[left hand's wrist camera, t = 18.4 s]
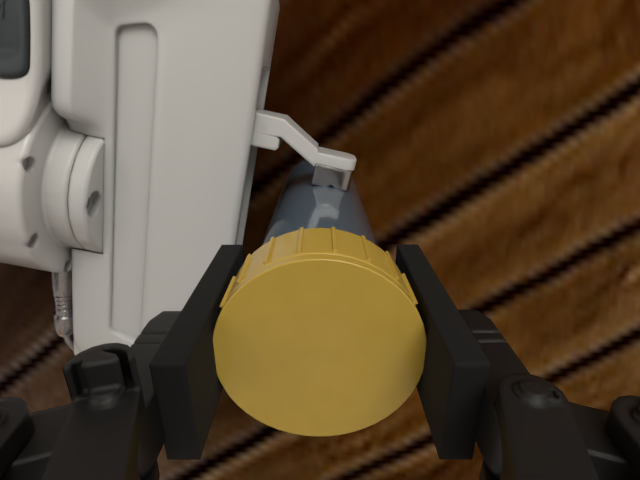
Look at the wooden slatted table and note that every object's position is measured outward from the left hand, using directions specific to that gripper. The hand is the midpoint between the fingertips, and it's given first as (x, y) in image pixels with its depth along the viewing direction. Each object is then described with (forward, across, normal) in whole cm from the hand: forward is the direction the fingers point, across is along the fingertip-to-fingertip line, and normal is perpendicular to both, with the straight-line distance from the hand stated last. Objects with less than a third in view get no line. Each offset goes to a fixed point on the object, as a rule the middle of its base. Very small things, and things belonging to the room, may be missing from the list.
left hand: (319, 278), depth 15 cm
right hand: (+5, -1, 0) cm, 5 cm away
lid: (-4, 0, 0) cm, 4 cm away
